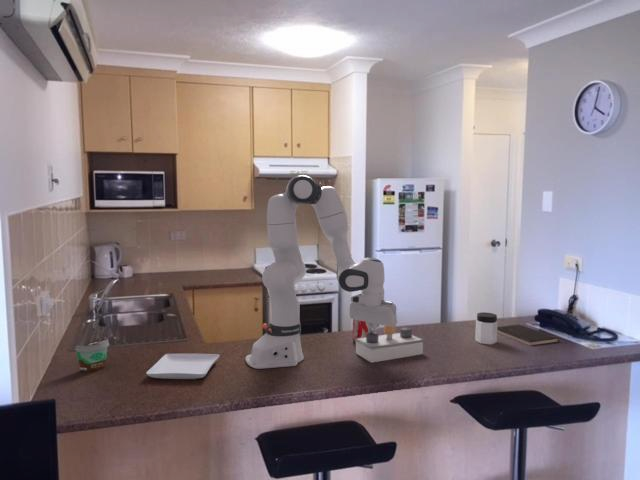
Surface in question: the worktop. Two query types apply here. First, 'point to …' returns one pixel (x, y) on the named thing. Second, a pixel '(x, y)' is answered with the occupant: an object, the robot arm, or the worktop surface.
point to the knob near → (371, 337)
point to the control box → (389, 348)
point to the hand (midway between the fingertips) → (372, 333)
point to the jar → (486, 328)
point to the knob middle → (389, 331)
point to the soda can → (359, 329)
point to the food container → (92, 356)
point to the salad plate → (182, 366)
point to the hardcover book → (526, 334)
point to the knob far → (405, 332)
